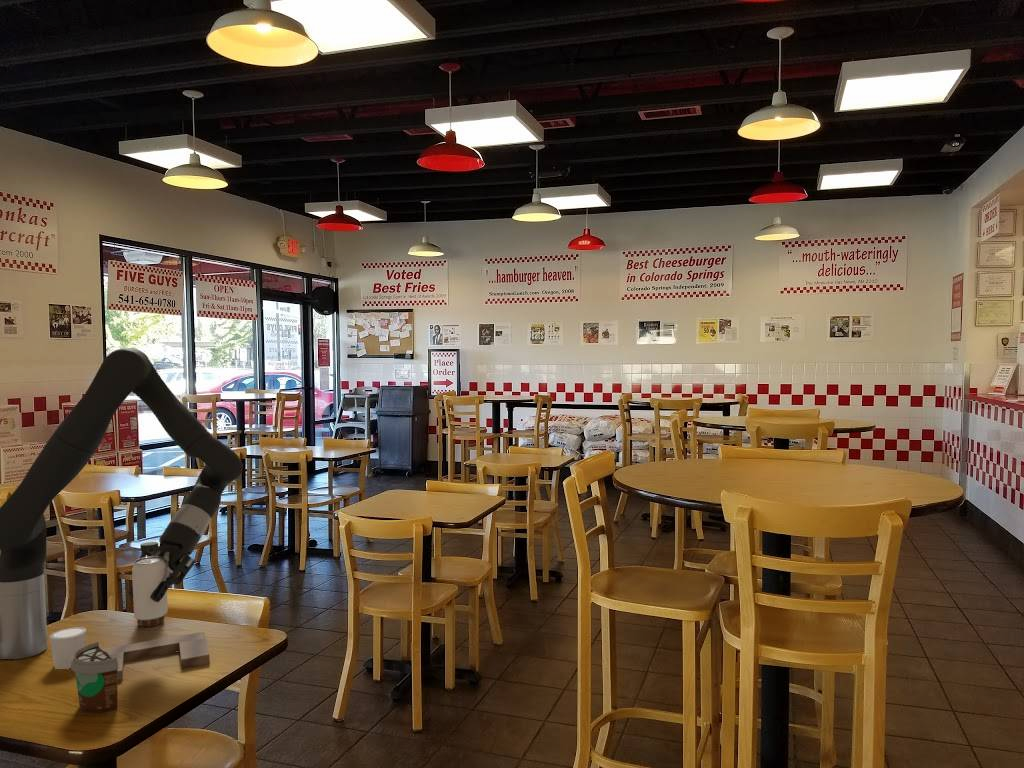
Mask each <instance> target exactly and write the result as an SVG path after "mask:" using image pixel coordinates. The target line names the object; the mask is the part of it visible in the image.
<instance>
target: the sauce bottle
mask: <svg viewBox="0 0 1024 768" xmlns="http://www.w3.org/2000/svg"><path fill="white" fill-rule="evenodd" d="M159 545H160V544H159V542H158V541H149V542H148V541H147V542H143V543H141V544H140V545H139V546H140V547H139V549H140V551H141V552H140V553H141V555H142V553H143V551H144V550H147V551H149V552H154V551H155V550H156V549H157V548H158V547H159ZM141 555H140V556H141ZM164 621H165V615H164V616H163V617H160V618H157V619H153V620H137V625H138V626H139V627H143V628H145V627H147V628H149V627H153V626H157V625H160V624H162V623H163V622H164Z"/></svg>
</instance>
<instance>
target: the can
mask: <svg viewBox="0 0 1024 768" xmlns="http://www.w3.org/2000/svg"><path fill="white" fill-rule="evenodd" d="M139 558H140V557H139ZM139 558H138V559H135V560H133V563H134V564H133V567H132V569H131V573H132V574H131V577H132V585H133V598H132V599H133V615H134V618H135V619H136V620H137V621H138V620H153V619H157V618H160V617H163V616H164V617H165V616H166V615H167V613H168V611H169V607H168V604H169V602H168V590H167V591H166V593H165V595H164V596H163V598H162V599H161V600H160V601H159V602H155V601H153V600H152V599H151V598H150V596H151V594H152V593H153V591H154V590H155V589H156V588H157V587H158V585H159V584H160V582H162V581H161V580H162V578H163V576H164V573H165V563H164V561H163V557H159V556H152V557H145V558H140V559H139Z"/></svg>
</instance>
